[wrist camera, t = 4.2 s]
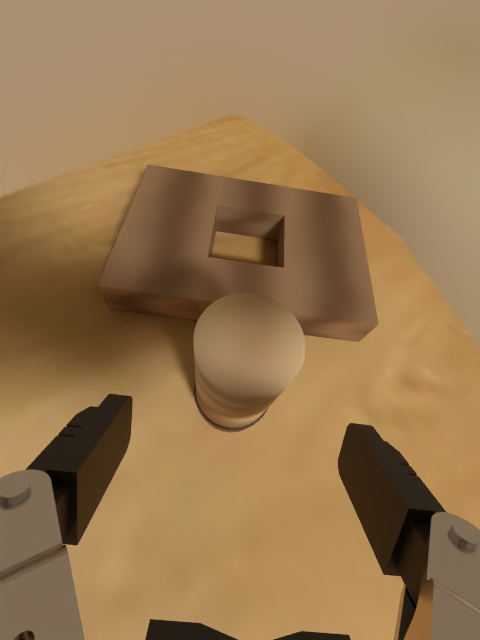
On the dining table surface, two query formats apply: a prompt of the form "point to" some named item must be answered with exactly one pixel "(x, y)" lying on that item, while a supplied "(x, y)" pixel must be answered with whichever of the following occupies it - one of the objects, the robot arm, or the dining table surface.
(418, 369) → the dining table surface
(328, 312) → the board
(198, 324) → the peg
